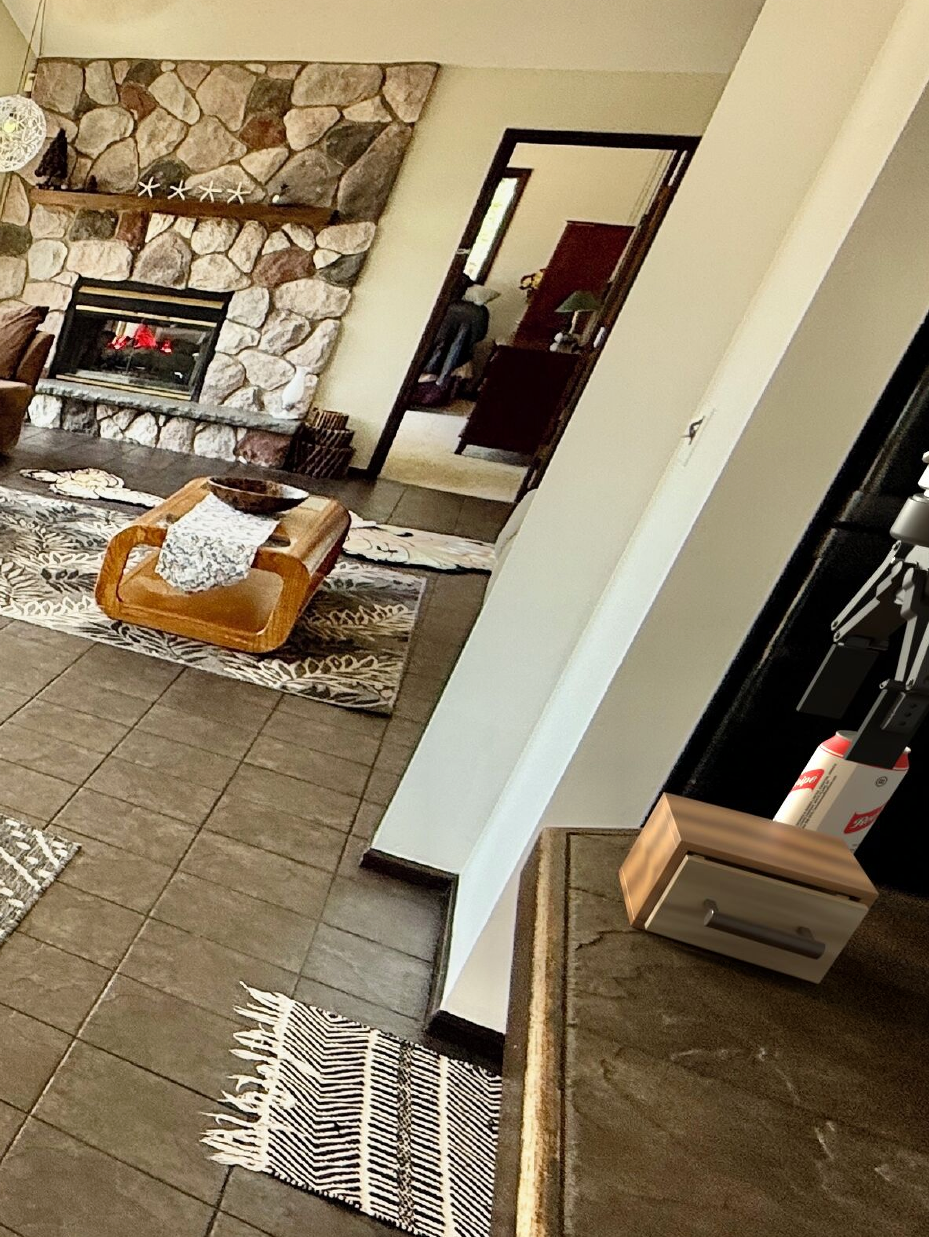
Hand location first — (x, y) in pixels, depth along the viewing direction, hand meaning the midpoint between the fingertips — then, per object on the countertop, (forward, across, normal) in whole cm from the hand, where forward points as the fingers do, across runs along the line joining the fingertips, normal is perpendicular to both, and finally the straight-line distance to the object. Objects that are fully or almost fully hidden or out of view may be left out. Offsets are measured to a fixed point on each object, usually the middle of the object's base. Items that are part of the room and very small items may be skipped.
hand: (840, 738), depth 103 cm
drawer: (+20, +2, -1) cm, 20 cm away
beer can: (+22, -25, +10) cm, 35 cm away
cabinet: (+21, -3, 0) cm, 22 cm away
